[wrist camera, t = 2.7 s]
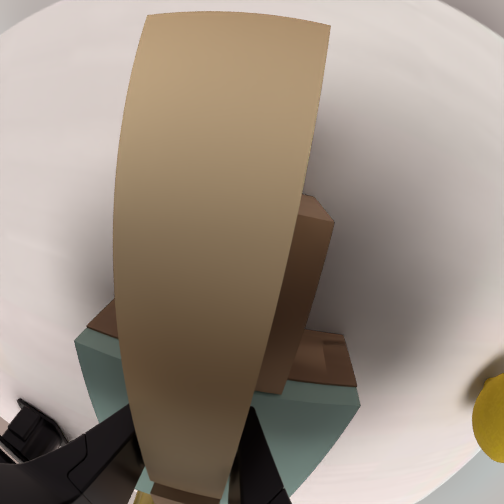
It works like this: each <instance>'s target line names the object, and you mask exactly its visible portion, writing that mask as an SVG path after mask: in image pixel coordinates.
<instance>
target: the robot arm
mask: <svg viewBox="0 0 504 504" xmlns="http://www.w3.org/2000/svg"><path fill="white" fill-rule="evenodd" d="M17 402H18V404H19V406H20V408H21V410H20V411H19V413H18V414H17V415H16V416H15V418H14V419H13V420H12V421H11V423H10V424H9V425H8V429H7V430H6V431H5V433H4V434H3V435H2V436H1V435H0V445H1V447H2V448H3V449H4V450H5V451H7V452H8V453H9V454H10V455H11V456H12V457H13V458H14V459H15V460H16V461H17V462H19V463H20V464H16V463H15V462H14V461H13V460H12V459H11V458H10V457H9V456H8V455H6V454H5V453H4V452H3V451H2V450H1V449H0V504H128V502H129V499H130V497H131V495H132V493H133V491H134V489H135V487H136V484H137V482H138V480H139V478H140V476H141V474H142V472H143V470H144V467H145V464H144V460H143V457H142V454H141V450H140V446H139V443H138V439H137V435H136V431H135V427H134V423H133V419H132V414H131V410H130V405H129V403H128V404H127V405H125V406H124V407H123V408H121V409H120V410H118V411H117V412H115V413H114V414H112V415H111V416H109V417H108V418H107V419H105V420H104V421H102V422H101V423H99V424H98V425H96V426H95V427H93V428H92V429H90V430H89V431H87V432H86V433H85V434H82V435H81V436H79V437H78V438H76V439H74V440H73V441H71V442H69V443H68V442H67V441H66V439H65V437H64V436H63V434H62V432H61V431H60V429H59V427H58V425H57V424H56V423H55V422H54V421H52V420H51V419H49V418H48V417H46V416H44V415H43V414H41V413H40V412H38V411H37V410H35V409H33V408H32V407H30V406H29V405H28V404H26V403H25V402H23V401H22V400H20V399H18V400H17ZM60 446H61V447H60ZM59 447H60V448H59ZM228 504H292V503H291V501H290V498H289V496H288V494H287V491H286V489H285V488H284V484H283V482H282V479H281V477H280V474H279V472H278V469H277V467H276V464H275V461H274V459H273V456H272V454H271V451H270V448H269V446H268V443H267V440H266V438H265V435H264V432H263V430H262V427H261V424H260V421H259V418H258V416H257V413H256V410H255V408H254V407H253V406H250V408H249V411H248V415H247V418H246V422H245V425H244V429H243V432H242V435H241V439H240V442H239V445H238V449H237V452H236V455H235V458H234V461H233V465H232V468H231V471H230V474H229V490H228Z"/></svg>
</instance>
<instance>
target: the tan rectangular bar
mask: <svg viewBox="0 0 504 504" xmlns="http://www.w3.org/2000/svg"><path fill="white" fill-rule="evenodd" d="M330 28H331V26H330V25H326V24H322V23H317V22H312V21H307V20H301V19H296V18H289V17H283V16H275V15H267V14H257V13H244V12H222V11H198V12H176V13H163V14H154V15H147V18H146V21H145V24H144V27H143V31H142V34H141V37H140V41H139V45H138V48H137V52H136V56H135V60H134V64H133V68H132V72H131V77H130V82H129V86H128V91H127V96H126V102H125V107H124V113H123V119H122V126H121V133H120V140H119V148H118V157H117V167H116V178H115V192H114V212H113V273H114V293H115V308H116V319H117V329H118V338H119V346H120V354H121V361H122V367H123V373H124V379H125V385H126V390H127V395H128V400H129V405H130V410H131V414H132V419H133V423H134V427H135V431H136V435H137V439H138V443H139V446H140V450H141V454H142V457H143V460H144V464H145V467H146V470H147V473H148V476H149V479H150V481H153V482H156V483H159V484H162V485H165V486H168V487H172V488H175V489H179V490H183V491H186V492H190V493H194V494H199V495H203V496H208V497H212V498H218V499H222V496H223V493H224V490H225V486H226V483H227V480H228V477H229V474H230V471H231V468H232V465H233V461H234V458H235V455H236V452H237V449H238V445H239V442H240V439H241V435H242V432H243V429H244V425H245V422H246V418H247V415H248V411H249V408H250V404H251V401H252V397H253V394H254V390H255V387H256V383H257V379H258V376H259V372H260V368H261V365H262V361H263V357H264V353H265V350H266V346H267V342H268V338H269V334H270V330H271V326H272V322H273V318H274V314H275V310H276V306H277V302H278V298H279V294H280V290H281V286H282V281H283V277H284V273H285V269H286V264H287V260H288V256H289V251H290V247H291V242H292V238H293V233H294V229H295V224H296V219H297V215H298V210H299V205H300V200H301V196H302V191H303V186H304V181H305V176H306V171H307V166H308V161H309V155H310V150H311V145H312V139H313V134H314V128H315V123H316V117H317V111H318V106H319V100H320V94H321V88H322V82H323V75H324V69H325V62H326V56H327V49H328V42H329V35H330Z"/></svg>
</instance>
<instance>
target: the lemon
mask: <svg viewBox="0 0 504 504" xmlns="http://www.w3.org/2000/svg"><path fill="white" fill-rule="evenodd" d="M472 426H473V431H474V435H475V438H476V440H477V442H478V444H479V446H480V447H481V449H482V450H483V451H484V452H485V453H486V454H487V455H488V456H489V457H490V458H491V459H492V460H494V461H496V462H500V463H504V373H502V374H500V375H498V376H496V377H492V378H488V379H487V380H486V381H485V383H484V386H483V389H482V391H481V392H480V394H479V395H478V397H477V399H476V402H475V405H474V408H473V413H472Z"/></svg>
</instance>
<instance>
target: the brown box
mask: <svg viewBox="0 0 504 504" xmlns="http://www.w3.org/2000/svg"><path fill="white" fill-rule="evenodd" d="M334 223H335V222H334V221H333V220H332V218H331V217H330V216H329V214H328V213H327V212H326V211H325V209H324V208H323V207H322V206H321V204H320V203H319V202H318V201H317V199H316V198H315V197H313V196H308V195H303V194H302V196H301V200H300V205H299V210H298V215H297V219H296V224H295V229H294V233H293V238H292V242H291V247H290V251H289V256H288V260H287V264H286V269H285V273H284V277H283V281H282V286H281V290H280V294H279V298H278V302H277V306H276V310H275V314H274V318H273V322H272V326H271V330H270V334H269V338H268V342H267V346H266V350H265V353H264V357H263V361H262V365H261V368H260V372H259V376H258V379H257V383H256V387H255V390H254V391H260V392H266V393H273V394H279V395H282V392H283V389H284V387H285V384H286V381H287V380H290V381H298V382H305V383H314V384H323V385H333V386H345V387H357V383H356V379H355V375H354V371H353V368H352V364H351V360H350V357H349V353H348V350H347V346H346V343H345V339H344V336H343V335H340V334H333V333H326V332H319V331H313V330H307V329H305V326H306V323H307V319H308V316H309V313H310V310H311V307H312V303H313V300H314V297H315V293H316V290H317V286H318V283H319V279H320V276H321V272H322V269H323V265H324V262H325V258H326V254H327V250H328V247H329V243H330V239H331V235H332V231H333V227H334ZM87 328H89V329H91V330H94V331H97V332H99V333H102V334H105V335H108V336H110V337H113V338H116V339H119V338H118V329H117V319H116V308H115V298H114V299H113V300H112V301H111V302H110V303H109V304H108V305H107V306H106V307H105V308H104V309H103V310H102V311H101V312H100V313H99V314H98V315H97V316H96V317H95V318H94V319H93V320H92V321H91V322H90V323H89V324H88V325H87Z"/></svg>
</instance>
